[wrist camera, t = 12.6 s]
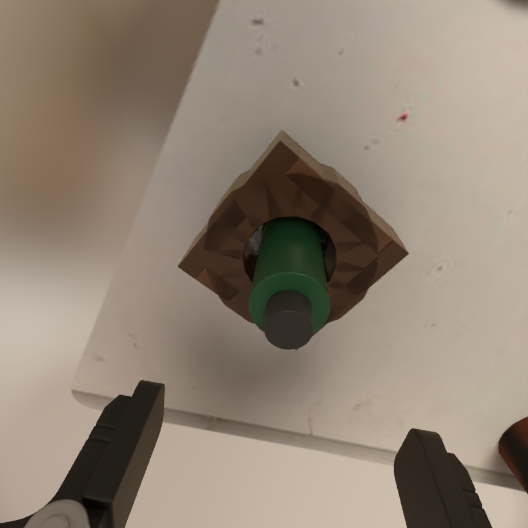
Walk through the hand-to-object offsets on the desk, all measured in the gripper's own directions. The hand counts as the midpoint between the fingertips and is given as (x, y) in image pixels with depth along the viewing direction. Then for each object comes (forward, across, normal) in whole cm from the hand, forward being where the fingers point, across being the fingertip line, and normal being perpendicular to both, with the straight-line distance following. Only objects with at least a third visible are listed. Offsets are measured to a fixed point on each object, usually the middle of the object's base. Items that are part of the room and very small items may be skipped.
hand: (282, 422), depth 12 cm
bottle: (+16, 0, 0) cm, 16 cm away
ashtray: (+16, 0, 0) cm, 16 cm away
